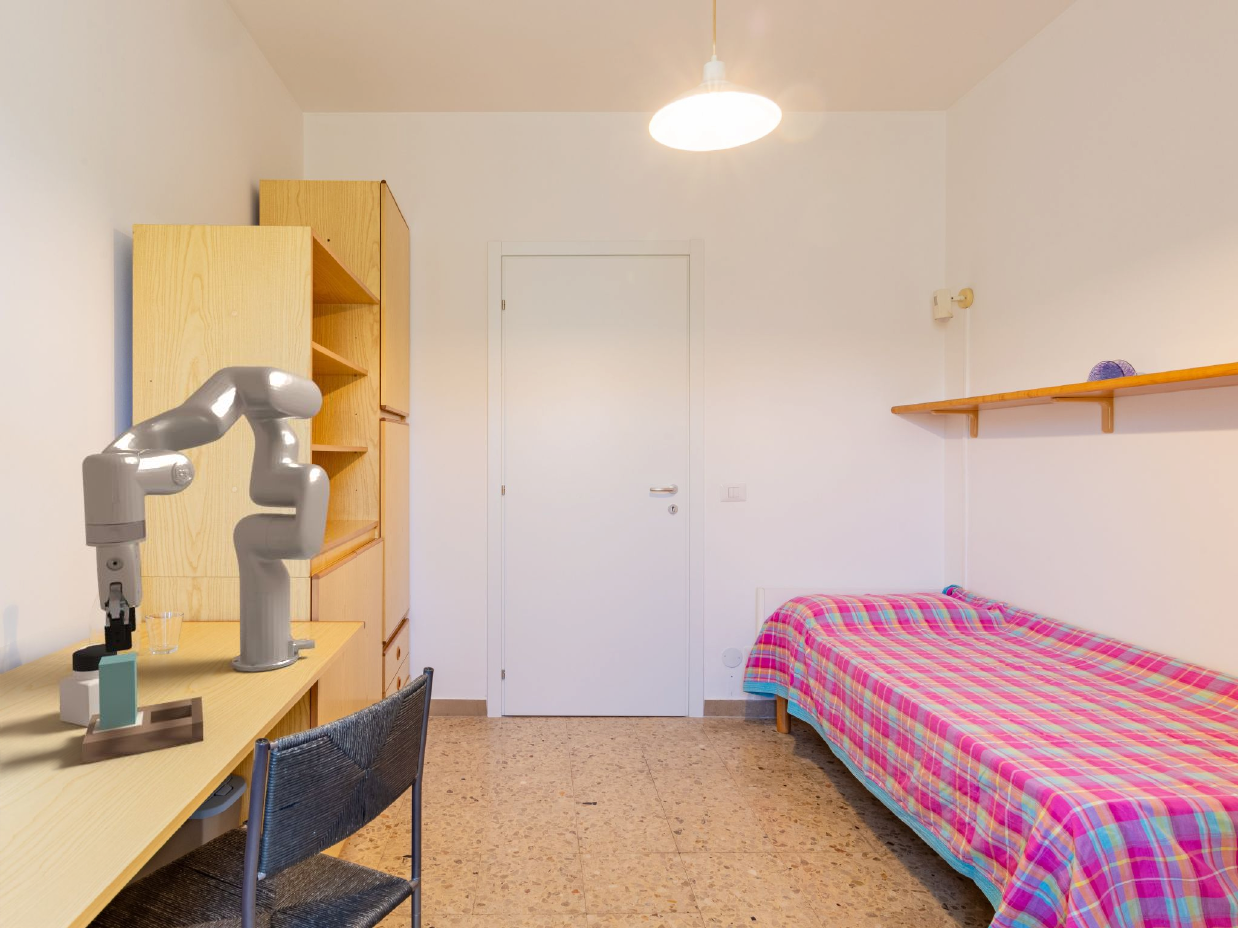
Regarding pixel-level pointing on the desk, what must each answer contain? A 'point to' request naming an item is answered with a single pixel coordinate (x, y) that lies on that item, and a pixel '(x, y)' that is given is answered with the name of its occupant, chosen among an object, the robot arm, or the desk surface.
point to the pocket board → (146, 731)
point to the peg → (118, 691)
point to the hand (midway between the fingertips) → (121, 641)
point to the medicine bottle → (82, 686)
